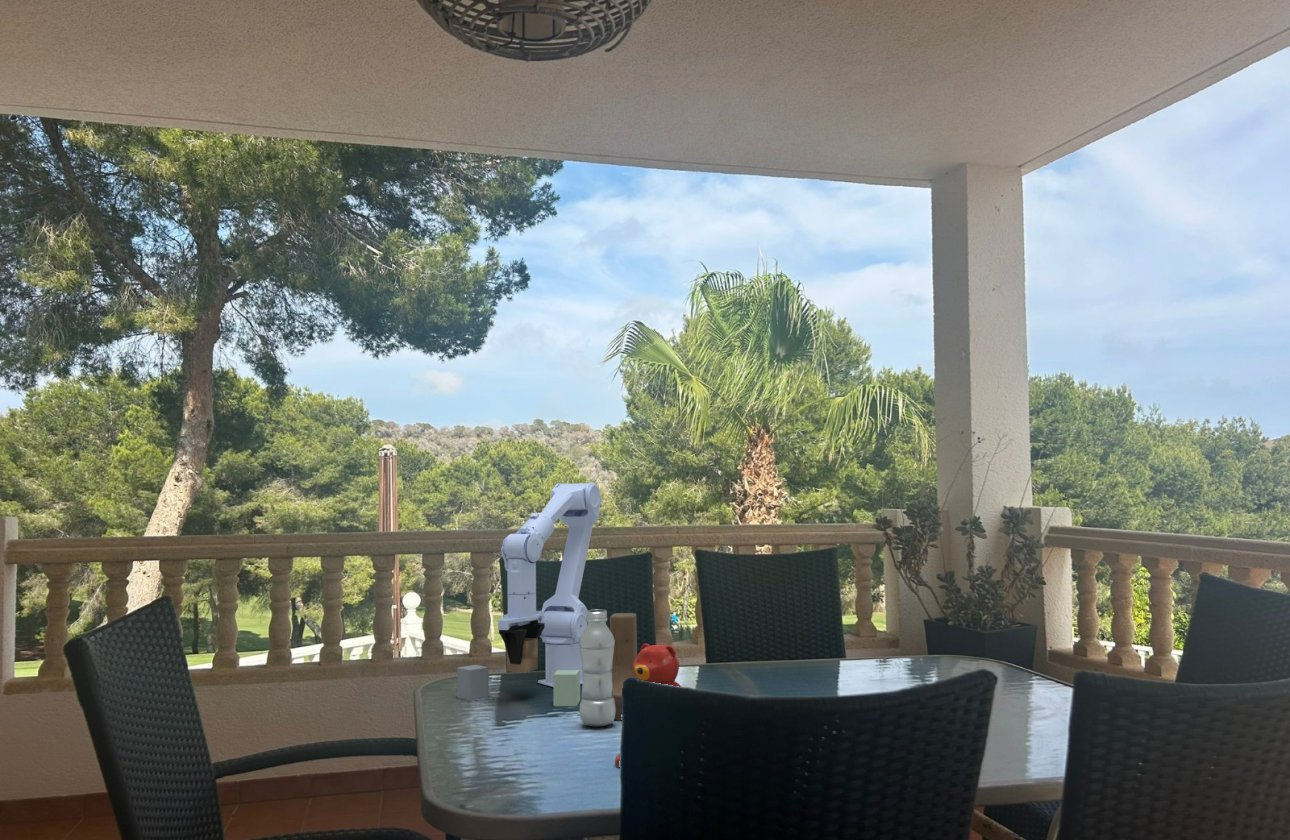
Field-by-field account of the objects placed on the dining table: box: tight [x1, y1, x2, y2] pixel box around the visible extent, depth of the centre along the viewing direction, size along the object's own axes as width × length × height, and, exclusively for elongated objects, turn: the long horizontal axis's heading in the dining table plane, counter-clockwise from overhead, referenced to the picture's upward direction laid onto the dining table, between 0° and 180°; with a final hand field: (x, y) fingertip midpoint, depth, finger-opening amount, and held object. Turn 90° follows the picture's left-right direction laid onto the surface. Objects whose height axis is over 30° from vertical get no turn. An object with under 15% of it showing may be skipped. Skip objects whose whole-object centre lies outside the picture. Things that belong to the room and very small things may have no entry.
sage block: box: [552, 670, 581, 707], centre depth 183 cm, size 4×4×6 cm
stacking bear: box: [614, 643, 682, 768], centre depth 140 cm, size 11×10×18 cm
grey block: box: [456, 664, 490, 702], centre depth 190 cm, size 4×4×6 cm
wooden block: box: [609, 612, 638, 721], centre depth 173 cm, size 9×4×18 cm, turn 173°
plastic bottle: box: [579, 609, 616, 728], centre depth 165 cm, size 6×7×20 cm
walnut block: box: [506, 638, 539, 674], centre depth 188 cm, size 4×4×6 cm
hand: (522, 661), depth 188 cm, fingers closed on walnut block, 4 cm apart
